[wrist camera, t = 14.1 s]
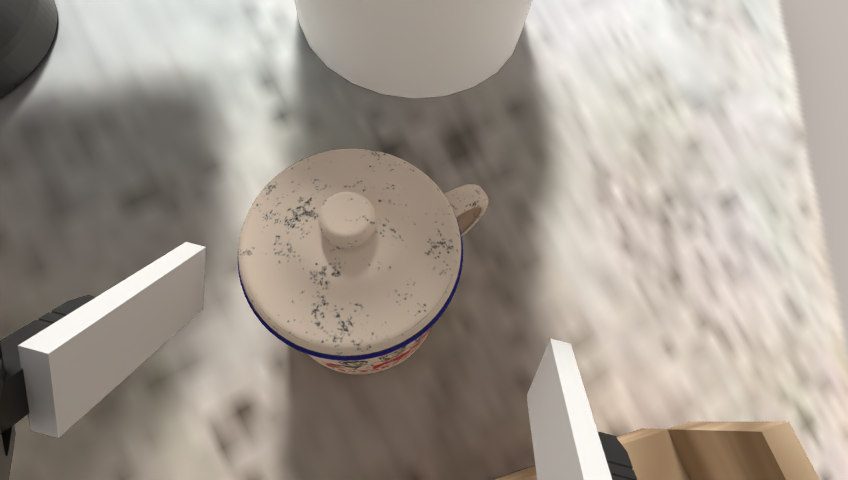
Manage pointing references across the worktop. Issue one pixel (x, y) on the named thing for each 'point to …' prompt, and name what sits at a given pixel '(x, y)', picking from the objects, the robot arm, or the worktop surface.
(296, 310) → the teacup with lid
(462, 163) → the worktop surface
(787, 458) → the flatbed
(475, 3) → the cylinder
